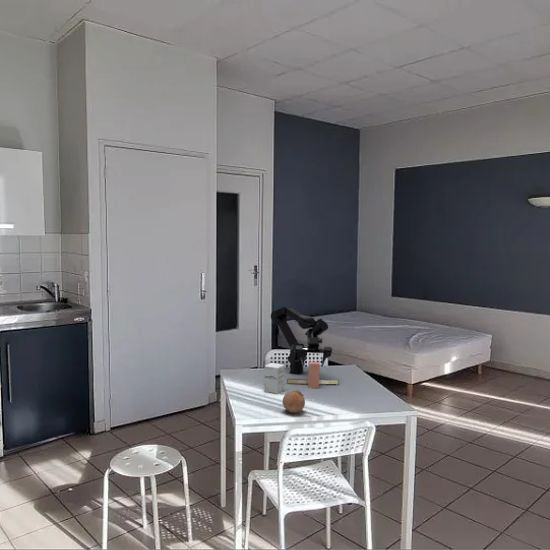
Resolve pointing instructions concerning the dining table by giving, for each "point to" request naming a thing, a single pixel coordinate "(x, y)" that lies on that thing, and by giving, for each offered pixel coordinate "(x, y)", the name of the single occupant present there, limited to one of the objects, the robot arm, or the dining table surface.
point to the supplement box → (274, 378)
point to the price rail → (305, 381)
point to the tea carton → (313, 374)
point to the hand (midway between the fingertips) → (313, 365)
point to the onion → (294, 402)
